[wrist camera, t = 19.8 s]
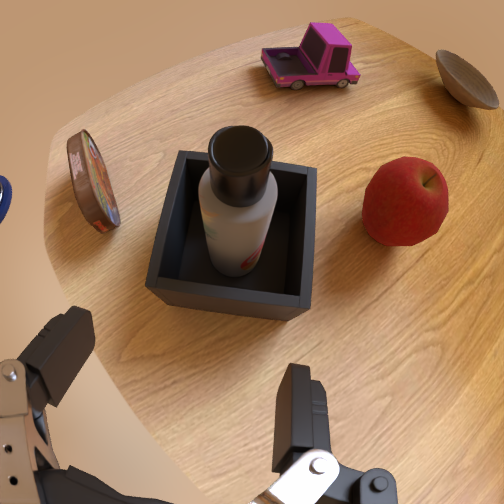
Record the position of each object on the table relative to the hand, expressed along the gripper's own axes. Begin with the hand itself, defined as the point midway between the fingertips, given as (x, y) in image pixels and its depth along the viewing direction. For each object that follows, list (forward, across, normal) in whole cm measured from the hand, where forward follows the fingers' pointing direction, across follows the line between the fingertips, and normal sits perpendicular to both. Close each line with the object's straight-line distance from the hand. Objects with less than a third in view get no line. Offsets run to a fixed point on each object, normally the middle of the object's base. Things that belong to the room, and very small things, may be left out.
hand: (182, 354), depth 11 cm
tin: (+28, +20, +5) cm, 34 cm away
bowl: (+60, -41, -27) cm, 77 cm away
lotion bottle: (+24, 0, +8) cm, 25 cm away
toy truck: (+50, -5, -18) cm, 54 cm away
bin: (+24, 0, +8) cm, 26 cm away
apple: (+31, -18, +2) cm, 36 cm away
